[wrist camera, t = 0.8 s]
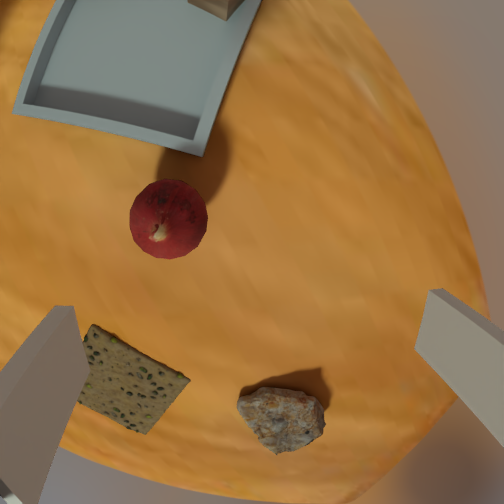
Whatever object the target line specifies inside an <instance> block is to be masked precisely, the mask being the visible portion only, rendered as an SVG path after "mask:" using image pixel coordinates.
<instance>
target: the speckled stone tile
mask: <svg viewBox="0 0 504 504" xmlns="http://www.w3.org/2000/svg"><path fill="white" fill-rule="evenodd" d="M82 343H83V347H84V350H85V354H86V357H87V361H88V364H89V368H90V373H89V375H88V377H87V379H86V381H85V383H84V386H83V388H82V390H81V392H80V395H79V397H78V399H77V401H78V402H79V403H80V404H83V405H85V406H87V407H88V408H90V409H92V410H95V411H96V412H98V413H100V414H102V415H105V416H107V417H109V418H110V419H112V420H114V421H116V422H117V423H119V424H121V425H123V426H125V427H126V428H127V429H131V430H134V431H136V432H139V433H142V434H145V435H146V434H147V432H148V431H149V430H150V429H151V428H152V427H153V426H154V425H155V423H156V422H157V421H158V420H159V419H160V417H161V416H162V414H163V413H164V412H165V411H166V409H168V408H169V406H170V405H171V404H172V403H173V402H174V400H175V399H176V397H177V396H178V395H179V394H180V393H181V392H182V390H183V389H184V388H185V387H186V385H187V384H188V383H189V382H190V381H191V380H190V379H189V378H187V377H185V376H183V375H182V374H181V373H179V372H175V371H174V370H172V369H170V368H168V367H167V366H165V365H163V364H161V363H158V362H156V361H155V360H153V359H151V358H150V357H148V356H146V355H144V354H142V353H140V352H139V351H137V350H136V349H134V348H132V347H131V346H129V345H127V344H125V343H123V342H121V341H120V340H118V339H117V338H116V337H114V336H112V335H110V334H108V333H107V332H106V331H104V330H102V329H101V328H100V327H98V326H96V325H91V327H90V328H89V331H88V333H87V335H86V336H85V337H84V341H83V342H82Z"/></svg>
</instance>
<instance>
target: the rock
mask: <svg viewBox="0 0 504 504" xmlns="http://www.w3.org/2000/svg"><path fill="white" fill-rule="evenodd" d="M237 409H238V411H239V412H240V415H242V417H243V419H244V420H245V422H246V423H247V425H248V427H250V428H251V429H252V430H253V432H254V433H255V434H257V435H258V436H259V437H258V439H259V442H260V443H262V444H263V445H264V446H265V447H266V448H268V449H269V450H270V451H272V452H273V453H275V454H276V455H277V454H278V453H281V452H284V451H288V452H289V451H295V450H297V449H299V448H301V447H303V446H306V445H308V444H309V443H310V442H312V441H313V440H314V439H316V438H318V437H320V436H321V435H322V434H323V428H324V427H325V425H326V423H325V421H324V409H323V407H322V405H321V404H320V402H319V401H318V400H317V399H316V398H315V397H314V396H306V394H305V393H304V392H303V391H293V390H290V389H279V388H269V387H261V388H259V389H258V390H257V391H256V392H254V393H252V394H250V395H246V396H243V397H240V398H239V399H238V401H237Z"/></svg>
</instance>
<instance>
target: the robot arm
mask: <svg viewBox="0 0 504 504" xmlns="http://www.w3.org/2000/svg"><path fill="white" fill-rule="evenodd" d="M414 349H415V350H416V351H417V352H418V353H419V354H420V355H421V356H422V358H423V359H424V360H425V361H426V362H427V363H428V364H429V365H430V366H431V367H432V368H433V369H434V370H435V371H436V372H437V373H438V374H439V376H440V377H441V378H442V379H443V380H444V381H445V382H446V383H447V384H448V385H449V386H450V387H451V389H452V390H453V391H454V392H455V393H456V394H457V395H458V396H459V397H460V398H461V399H462V401H463V402H464V403H465V404H466V405H467V406H468V407H469V408H470V409H471V411H472V412H473V413H474V414H475V415H476V416H477V417H478V418H479V420H480V421H481V422H482V423H483V424H484V425H485V426H486V427H487V429H488V430H489V431H490V432H491V433H492V434H493V436H494V437H495V438H496V439H497V440H498V441H499V443H500V444H501V445H502V446H503V447H504V331H503V330H502V329H500V328H499V327H497V326H496V325H495V324H493V323H492V322H491V321H489V320H488V319H486V318H485V317H484V316H482V315H481V314H479V313H478V312H476V311H475V310H474V309H472V308H471V307H469V306H468V305H466V304H465V303H463V302H462V301H460V300H459V299H457V298H456V297H455V296H453V295H452V294H450V293H449V292H447V291H446V290H444V289H443V288H442V289H433V290H429V291H428V296H427V301H426V305H425V310H424V314H423V318H422V322H421V326H420V330H419V334H418V337H417V341H416V345H415V348H414ZM89 373H90V368H89V364H88V361H87V357H86V354H85V350H84V347H83V343H82V339H81V335H80V331H79V327H78V323H77V319H76V315H75V310H74V306H55V307H54V308H53V309H52V310H51V311H50V312H49V313H48V314H47V316H46V317H45V318H44V319H43V320H42V321H41V323H40V324H39V325H38V326H37V327H36V328H35V330H34V331H33V332H32V333H31V334H30V336H29V337H28V338H27V339H26V340H25V342H24V343H23V344H22V345H21V347H20V348H19V349H18V350H17V351H16V353H15V354H14V355H13V357H12V358H11V359H10V360H9V362H8V363H7V364H6V365H5V367H4V368H3V369H2V371H1V372H0V496H1V497H2V498H3V499H4V500H5V501H6V502H7V503H8V504H38V502H39V499H40V495H41V492H42V489H43V486H44V483H45V481H46V478H47V475H48V472H49V469H50V467H51V464H52V461H53V458H54V456H55V453H56V450H57V448H58V445H59V443H60V440H61V438H62V435H63V433H64V430H65V428H66V425H67V423H68V420H69V418H70V416H71V413H72V411H73V408H74V406H75V404H76V401H77V399H78V397H79V395H80V392H81V390H82V388H83V386H84V383H85V381H86V379H87V377H88V375H89Z"/></svg>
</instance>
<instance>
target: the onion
mask: <svg viewBox="0 0 504 504" xmlns="http://www.w3.org/2000/svg"><path fill="white" fill-rule="evenodd" d="M207 220H208V215H207V210H206V205H205V202H204V201H203V199H202V198H201V197H200V195H199V194H198V192H197V191H196V190H195V189H194V188H192V187H191V186H189V185H188V184H186V183H185V182H183V181H179V180H171V179H163V180H160V181H157V182H154V183H151V184H149V185H148V186H147V187H146V188H145V189H144V190H143V191H142V192H141V193H140V194H139V195H138V196H137V197H136V198H135V201H134V203H133V205H132V207H131V210H130V230H131V233H132V236H133V239H134V241H135V242H136V244H137V245H138V246H139V247H140V248H141V249H142V250H143V251H144V252H146V253H148V254H150V255H152V256H154V257H156V258H164V259H174V258H178V257H182V256H185V255H187V254H188V253H189V252H191V251H192V250H193V249H195V248H196V247H198V245H199V243H200V241H201V239H202V238H203V236H204V234H205V232H206V228H207Z"/></svg>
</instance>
